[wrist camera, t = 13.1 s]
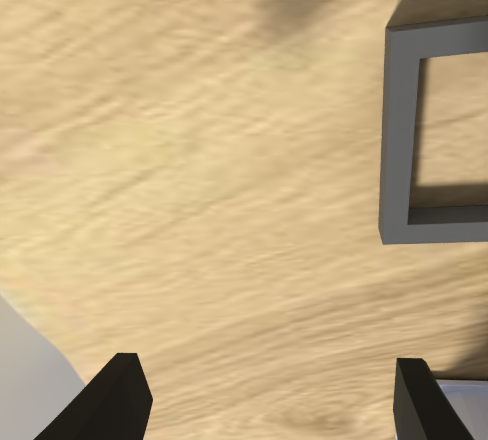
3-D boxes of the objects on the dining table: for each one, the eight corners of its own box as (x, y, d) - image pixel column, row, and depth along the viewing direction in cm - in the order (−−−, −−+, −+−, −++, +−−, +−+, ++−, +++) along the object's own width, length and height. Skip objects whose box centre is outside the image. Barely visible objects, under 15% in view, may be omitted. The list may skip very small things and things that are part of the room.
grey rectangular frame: (561, 221, 19) (579, 239, 18) (378, 227, 20) (382, 244, 19) (624, -1, 15) (653, 1, 13) (385, 27, 16) (391, 32, 15)
